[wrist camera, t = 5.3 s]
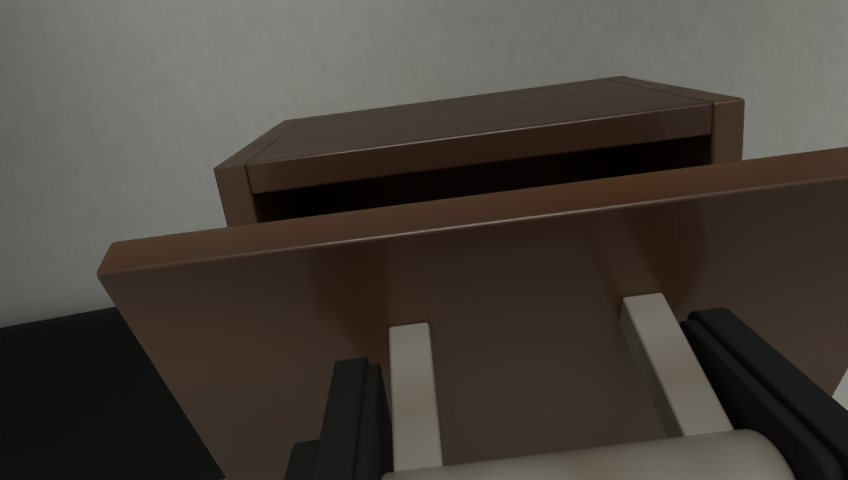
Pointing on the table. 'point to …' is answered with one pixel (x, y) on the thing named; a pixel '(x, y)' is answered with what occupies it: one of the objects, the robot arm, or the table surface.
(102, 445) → the cell phone
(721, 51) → the table surface
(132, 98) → the table surface
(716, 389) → the robot arm
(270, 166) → the wooden box
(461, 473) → the lid
